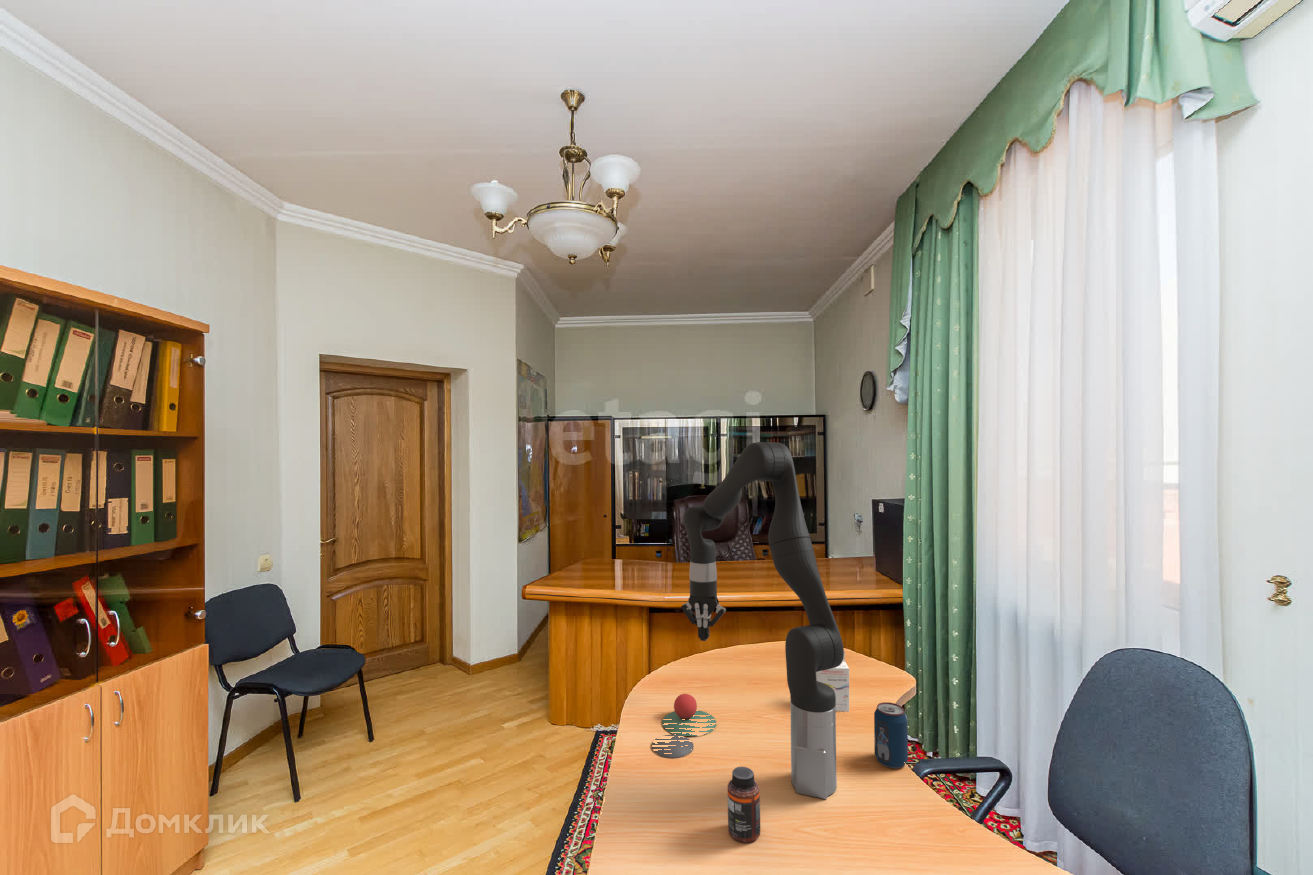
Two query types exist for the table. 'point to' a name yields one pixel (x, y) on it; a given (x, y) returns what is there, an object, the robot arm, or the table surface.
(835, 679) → the ink cartridge box
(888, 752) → the soda can
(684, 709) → the ball
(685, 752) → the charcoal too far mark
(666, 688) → the table surface
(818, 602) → the robot arm
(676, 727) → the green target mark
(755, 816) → the supplement bottle
